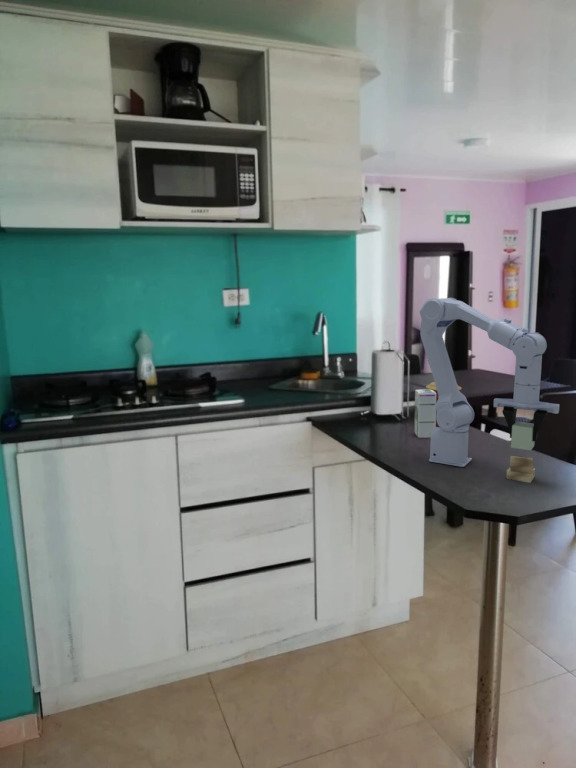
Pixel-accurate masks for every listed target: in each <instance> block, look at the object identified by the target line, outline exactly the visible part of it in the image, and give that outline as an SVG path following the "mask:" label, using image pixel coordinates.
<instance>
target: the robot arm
mask: <svg viewBox="0 0 576 768" xmlns="http://www.w3.org/2000/svg"><path fill="white" fill-rule="evenodd" d="M419 315H420V318H421V321H420V322H421V323H420V333H419V335H420V338H421V339H420V340H421V342H422V345H423V348H424V353H425V354H426V355H425V356H426V359H427V361H428V365H429V368H430V371H431V375H432V378H433V382H435V385H436V389H437V392H438V395H439V398H438V400H437V403H436V405H435V406H436V410H437V415H436V420H437V423H438V425H439V426H440V427H435V428H434V429H433V430H432V434H431V438H430V447H429V450H430V451H429V459H428V461H429V462H431V463H437V464H442V465H449V466H454V467H455V466H456V467H461V468H464V467H466V466H467V465H468V464H469V463H470V462H471V461H472V460H473V458H472V457H468V455H469V454H468V451H469V433H470V432H469V431H470V424H471V423H472V422H473V421H474V419H475V412H474V409H473V407H472V406H471V405H470V403H469V402H468V400H467V397H466V395H465V394H464V393H462V392H461V390H460V391H459V389H458V386H459V385H458V383H457V382H458V381H457V379H456V377H455V373H454V369H453V366H452V363H451V359H450V357H449V353H448V349H447V346H446V343H445V340H444V338H443V337H444V333H445V332H446V330H447V329H448V327H449V326H450V325H452V323H454V322H455V321H456V320H461V321H463V322H465V323H468V324H470V325H472V326H474V327H477V328H478V329H480V330H482V331H485V332H486V333H487V335H488V338H489V340H491V341H493V342H496V344H499V345H501V346H502V347H504V348H507V349H508V350H510V351H512V353H513V354H514V356H515V365H514V366H515V367H514V369H515V370H514V384H513V385H514V386H513V398H501V397H500V398H499V397H498V398H497V397H495V398H494V399H493V408H502V410H501V412H502V415H503V416H504V419H505V421H506V422H505V423H506V424H507V427H508V433H509V438H510V439H511V437H512V425H513V424H514V423H515V422H517V421H516V419H517V412H518V410H523V411H526V410H527V411H532V412H533V411H534V413H533V424H534V430H533V441H535V442H537V440H538V436H539V433H540V430H541V428H542V426H543V423H544V422H545V419H546V418H547V417H548V414H549V413H552V414H559V412H560V404H559V403H552V402H551V403H550V402H547V401H546V402H545V401H540V392H541V391H540V390H541V379H542V378H541V376H542V363H543V362H542V361H543V354H545V352H546V350H547V347H548V344H547V340H546V338H545V337H544V336H543V335H542V334H540V332H529V331H530V329H529V328H527V327H523V328H522V327H520V326H518V325H517V324H515V323H512V319H510V318H507V317H506V318H502V317H501V318H500V317H499V318H497V319H493V318H491V317H489V316H488V315H486V314H484V313H482V312H481V311H479V310H477V309H476V308H474V307H472V306H471V305H469V304H467V303H465V302H464V301H462V300H457V298H454V297H446V298H438V297H437V298H436V297H431V298H428V299H426V301H425V302H424V303H423V305H422V307H421V309H420V310H419Z"/></svg>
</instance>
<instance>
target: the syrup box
mask: <svg viewBox="0 0 576 768" xmlns="http://www.w3.org/2000/svg"><path fill="white" fill-rule="evenodd" d="M435 405H436V392H434V391H433V390H430V389H427V388H426V389H425V388H424V389H423V388H422V389H415V391H414V426H413V427H414V428H413V429H414V431H413V432H414V434H415V437H417V438H419V439H421V438H423V439H431V434H432V430H433V429H434V428H435V427H436V406H435Z"/></svg>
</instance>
